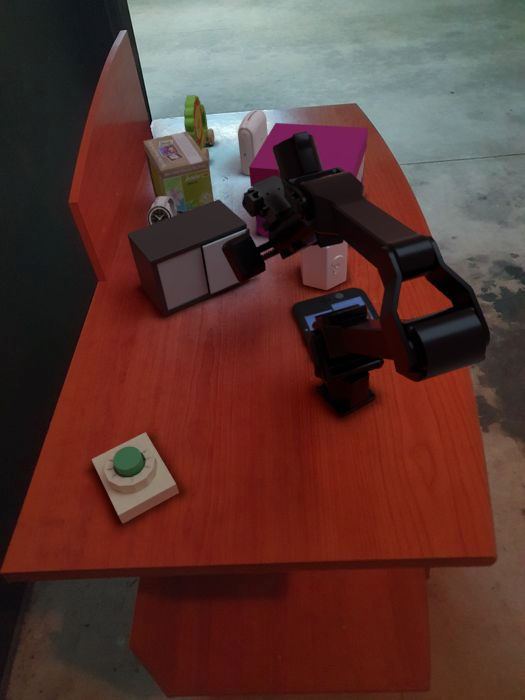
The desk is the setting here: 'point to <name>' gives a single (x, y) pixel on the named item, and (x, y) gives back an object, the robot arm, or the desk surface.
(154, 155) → the tea box
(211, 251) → the gray cabinet door
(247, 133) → the photo printer
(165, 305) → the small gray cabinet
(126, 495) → the button block
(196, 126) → the toy lion
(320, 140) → the decorative box
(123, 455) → the button
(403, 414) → the desk surface
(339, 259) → the jar
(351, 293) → the game console
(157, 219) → the watch
